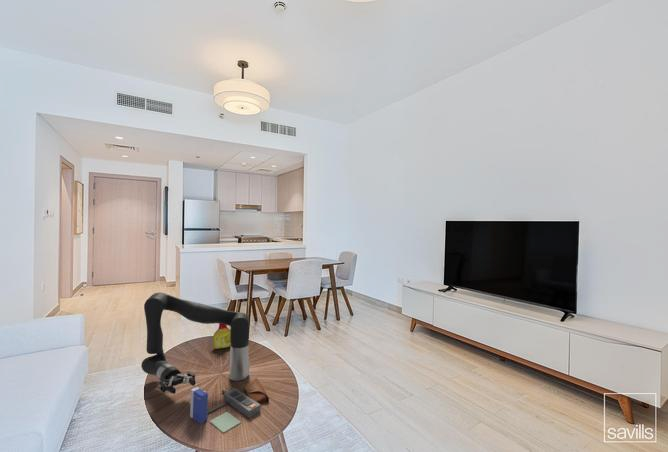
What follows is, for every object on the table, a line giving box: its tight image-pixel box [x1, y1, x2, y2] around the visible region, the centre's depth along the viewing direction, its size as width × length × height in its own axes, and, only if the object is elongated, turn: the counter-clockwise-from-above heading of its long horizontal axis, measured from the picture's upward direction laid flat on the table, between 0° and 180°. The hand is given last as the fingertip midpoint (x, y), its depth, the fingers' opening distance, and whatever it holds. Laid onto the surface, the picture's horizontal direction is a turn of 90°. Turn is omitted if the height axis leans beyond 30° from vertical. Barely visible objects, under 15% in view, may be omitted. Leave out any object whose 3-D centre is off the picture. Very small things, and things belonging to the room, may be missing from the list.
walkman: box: [189, 386, 209, 425], centre depth 125 cm, size 8×3×12 cm, turn 57°
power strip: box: [207, 388, 261, 419], centre depth 132 cm, size 25×18×3 cm
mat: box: [209, 411, 242, 434], centre depth 123 cm, size 8×10×1 cm
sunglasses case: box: [242, 377, 270, 405], centre depth 144 cm, size 18×7×7 cm
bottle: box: [212, 323, 231, 350], centre depth 193 cm, size 12×6×20 cm, turn 120°
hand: (184, 387), depth 132 cm, fingers open, 8 cm apart
